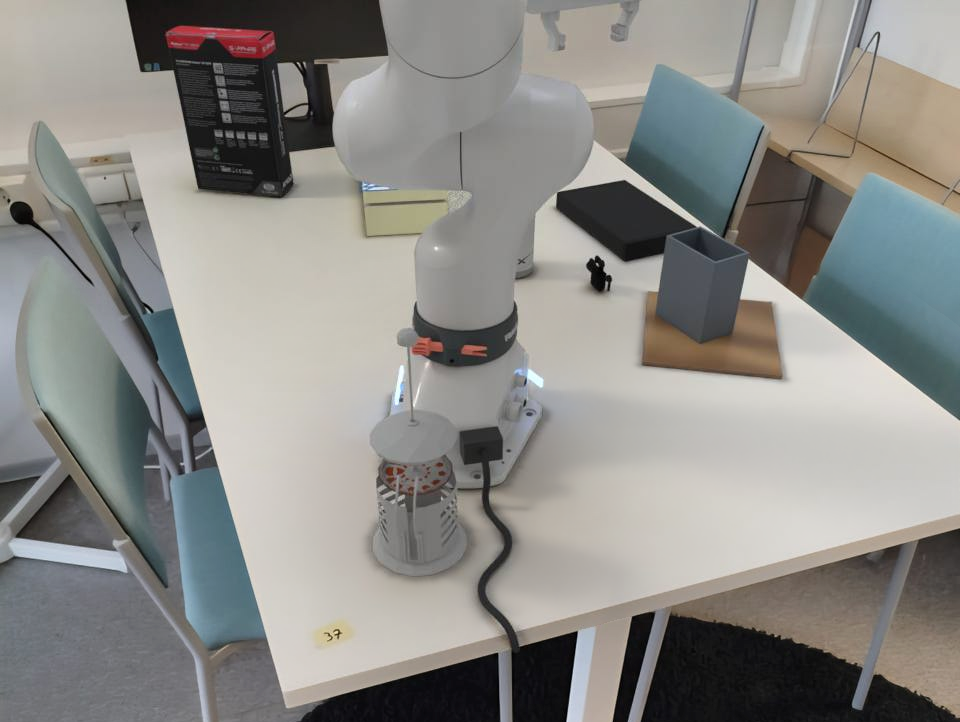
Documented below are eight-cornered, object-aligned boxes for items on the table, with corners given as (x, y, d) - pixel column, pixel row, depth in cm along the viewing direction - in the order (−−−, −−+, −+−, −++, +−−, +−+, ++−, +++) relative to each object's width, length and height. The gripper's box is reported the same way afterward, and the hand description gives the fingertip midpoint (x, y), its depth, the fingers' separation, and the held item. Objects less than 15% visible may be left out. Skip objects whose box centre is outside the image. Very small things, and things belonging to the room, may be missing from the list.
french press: (471, 511, 92) (470, 303, 76) (460, 593, 83) (456, 376, 67) (380, 506, 93) (360, 299, 77) (360, 586, 84) (332, 370, 68)
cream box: (451, 231, 147) (450, 171, 140) (363, 236, 145) (358, 175, 138) (426, 141, 181) (424, 89, 174) (355, 144, 179) (350, 92, 173)
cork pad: (781, 379, 112) (782, 375, 112) (642, 364, 115) (642, 361, 114) (770, 304, 127) (771, 301, 127) (647, 293, 130) (648, 290, 129)
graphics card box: (297, 185, 162) (275, 26, 145) (284, 199, 157) (260, 36, 140) (211, 179, 165) (179, 22, 147) (196, 193, 159) (161, 32, 142)
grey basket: (750, 252, 112) (700, 226, 119) (715, 263, 110) (666, 235, 116) (732, 333, 120) (687, 303, 126) (699, 344, 118) (654, 314, 124)
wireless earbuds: (612, 298, 129) (616, 267, 125) (597, 301, 128) (600, 269, 125) (591, 277, 134) (594, 247, 131) (577, 280, 133) (579, 249, 130)
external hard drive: (624, 195, 159) (625, 179, 157) (698, 245, 142) (701, 228, 141) (555, 208, 154) (556, 192, 152) (624, 261, 138) (626, 244, 136)
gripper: (534, -76, 93) (529, 62, 101) (684, -89, 100) (667, 41, 109) (505, -84, 97) (502, 49, 106) (651, -95, 104) (637, 30, 113)
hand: (587, 45), depth 107 cm, fingers open, 8 cm apart
